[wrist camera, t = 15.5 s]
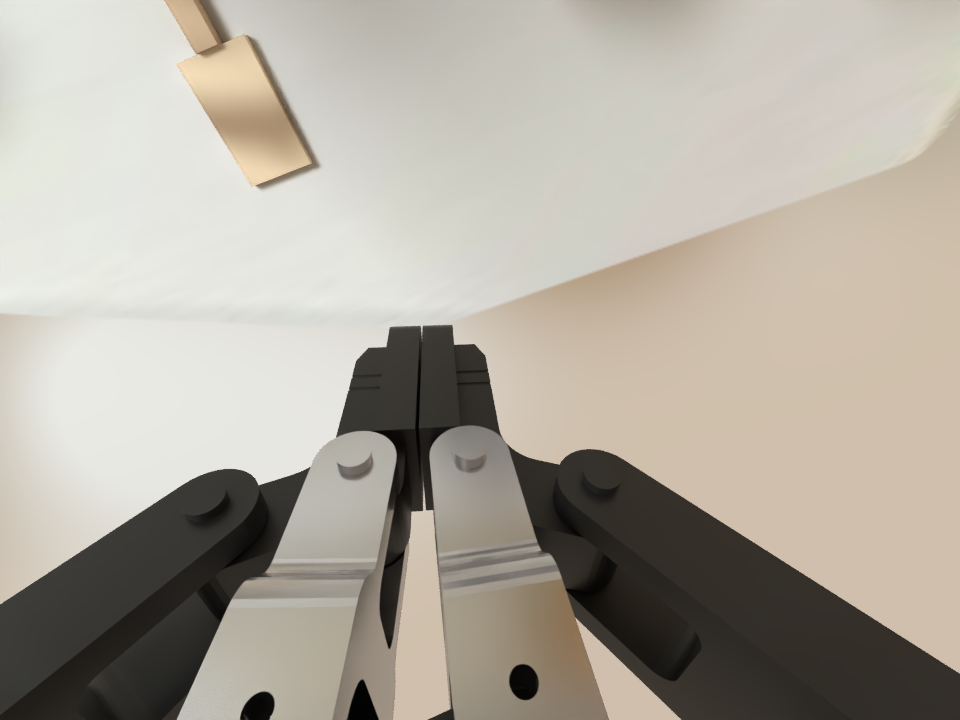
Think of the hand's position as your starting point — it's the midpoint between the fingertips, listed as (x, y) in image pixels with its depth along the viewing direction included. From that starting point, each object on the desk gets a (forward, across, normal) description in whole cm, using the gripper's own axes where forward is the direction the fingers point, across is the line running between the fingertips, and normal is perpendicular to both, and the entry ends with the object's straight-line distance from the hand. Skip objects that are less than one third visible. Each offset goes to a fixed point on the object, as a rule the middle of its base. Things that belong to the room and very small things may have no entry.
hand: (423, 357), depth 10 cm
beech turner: (+27, +14, -9) cm, 32 cm away
